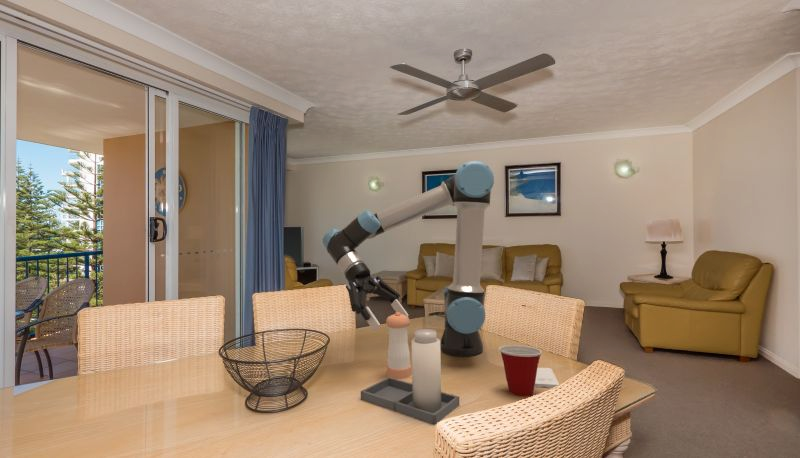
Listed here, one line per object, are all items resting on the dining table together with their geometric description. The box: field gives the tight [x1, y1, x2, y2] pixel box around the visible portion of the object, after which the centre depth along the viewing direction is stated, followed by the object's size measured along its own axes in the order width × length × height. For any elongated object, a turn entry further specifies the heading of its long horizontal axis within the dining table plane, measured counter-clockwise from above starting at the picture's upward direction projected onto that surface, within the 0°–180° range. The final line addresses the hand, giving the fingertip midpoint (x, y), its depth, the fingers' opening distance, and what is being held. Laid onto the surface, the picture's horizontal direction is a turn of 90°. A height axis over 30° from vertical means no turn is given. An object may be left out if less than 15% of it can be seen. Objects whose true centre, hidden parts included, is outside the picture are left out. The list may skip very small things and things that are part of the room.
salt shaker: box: [411, 328, 442, 414], centre depth 90 cm, size 7×7×18 cm
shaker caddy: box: [360, 377, 460, 426], centre depth 93 cm, size 11×22×3 cm, turn 53°
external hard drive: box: [534, 367, 560, 389], centre depth 109 cm, size 2×8×12 cm
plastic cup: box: [498, 344, 543, 397], centre depth 99 cm, size 11×11×12 cm
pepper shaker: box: [385, 311, 412, 380], centre depth 112 cm, size 7×7×19 cm
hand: (392, 322), depth 112 cm, fingers open, 13 cm apart
